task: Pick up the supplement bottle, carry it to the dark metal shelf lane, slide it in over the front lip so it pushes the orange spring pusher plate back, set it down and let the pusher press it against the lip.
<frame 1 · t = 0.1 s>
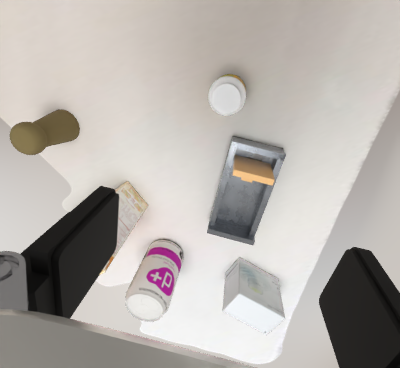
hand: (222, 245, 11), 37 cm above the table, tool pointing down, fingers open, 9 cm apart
supplement can: (166, 251, 59), on the table
olive brown pepper mill: (65, 125, 50), on the table
coffeecake box: (115, 208, 56), on the table
supplement bottle: (229, 91, 43), on the table
pusher: (249, 177, 44), point 4 cm above the table, slide at 0.0 cm
skincare box: (251, 274, 59), on the table
lane: (243, 186, 49), on the table
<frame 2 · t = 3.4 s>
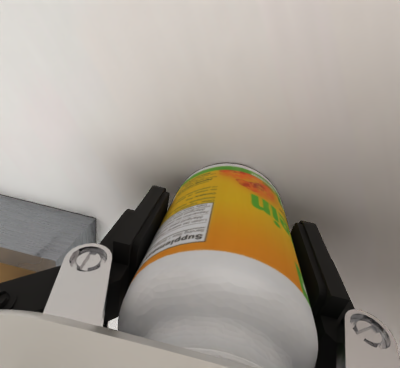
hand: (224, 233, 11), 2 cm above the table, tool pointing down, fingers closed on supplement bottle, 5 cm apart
supplement bottle: (227, 208, 13), on the table, touching gripper
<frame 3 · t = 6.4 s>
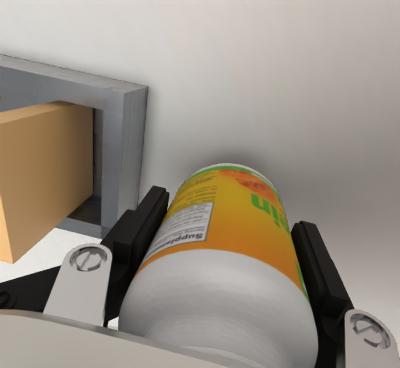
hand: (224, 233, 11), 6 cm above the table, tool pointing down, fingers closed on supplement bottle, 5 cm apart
supplement bottle: (227, 208, 13), point 4 cm above the table, touching gripper
pusher: (22, 163, 14), point 4 cm above the table, slide at 0.0 cm
lane: (15, 127, 18), on the table
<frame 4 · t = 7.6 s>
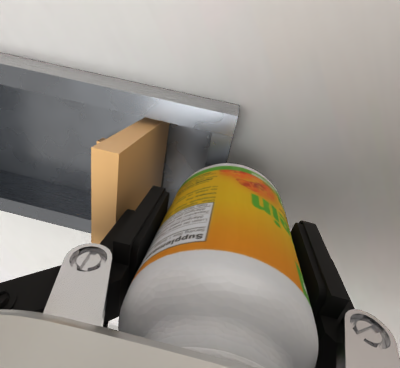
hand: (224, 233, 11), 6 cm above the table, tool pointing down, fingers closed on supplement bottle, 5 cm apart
supplement bottle: (227, 208, 13), point 4 cm above the table, touching gripper
pusher: (108, 180, 13), point 4 cm above the table, slide at 0.8 cm, touching gripper
lane: (92, 143, 17), on the table
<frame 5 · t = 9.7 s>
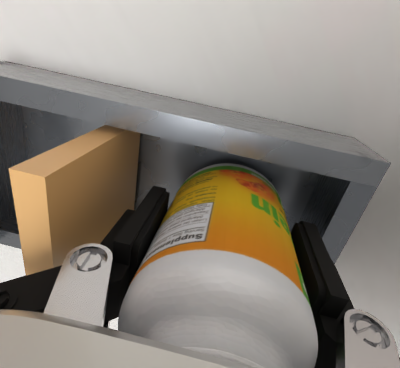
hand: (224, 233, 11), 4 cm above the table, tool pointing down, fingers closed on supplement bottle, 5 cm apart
supplement bottle: (227, 208, 13), point 2 cm above the table, touching gripper
pusher: (63, 199, 11), point 4 cm above the table, slide at 7.3 cm, touching gripper
lane: (162, 177, 15), on the table
when the fingers open (4 cm above the table, at t = 9.9 s): supplement bottle drops 1 cm, resting on lane, pusher.
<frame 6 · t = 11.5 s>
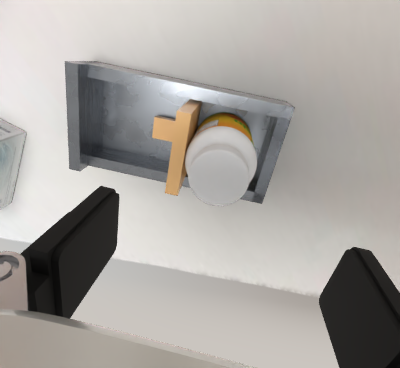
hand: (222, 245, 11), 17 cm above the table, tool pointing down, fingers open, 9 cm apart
supplement bottle: (223, 138, 25), resting on lane, pusher
pusher: (167, 139, 22), point 4 cm above the table, slide at 4.6 cm, touching supplement bottle
lane: (183, 128, 26), on the table
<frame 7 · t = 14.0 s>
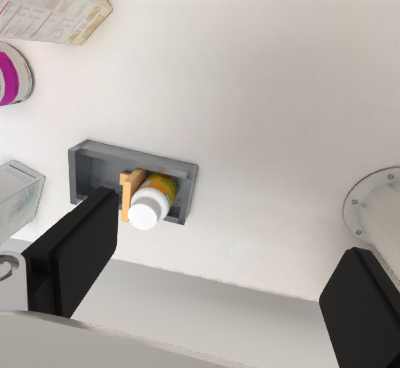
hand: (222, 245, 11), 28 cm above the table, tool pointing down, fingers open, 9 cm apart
supplement can: (10, 73, 38), on the table
supplement bottle: (163, 184, 42), resting on lane, pusher
pusher: (125, 188, 39), point 4 cm above the table, slide at 4.6 cm, touching supplement bottle
skincare box: (26, 190, 47), on the table
lane: (139, 178, 42), on the table
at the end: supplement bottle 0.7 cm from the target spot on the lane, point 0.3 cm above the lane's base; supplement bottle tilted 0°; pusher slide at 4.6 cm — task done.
